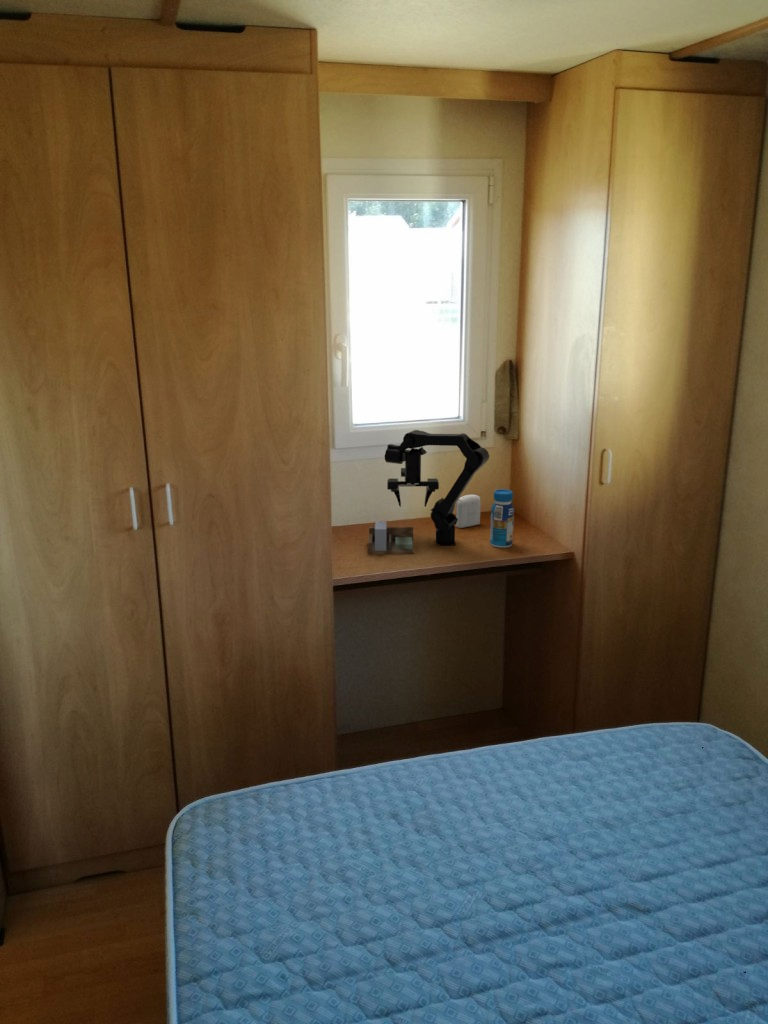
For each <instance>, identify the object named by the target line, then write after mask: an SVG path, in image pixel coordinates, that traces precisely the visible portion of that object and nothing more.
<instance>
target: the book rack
mask: <svg viewBox="0 0 768 1024" xmlns="http://www.w3.org/2000/svg"><path fill="white" fill-rule="evenodd" d="M368 529H369V530H368V555H414V554H415V548H414V547H415V546H414V526H387V543H386V551H375V526H369V527H368Z"/></svg>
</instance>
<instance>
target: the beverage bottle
mask: <svg viewBox="0 0 768 1024" xmlns="http://www.w3.org/2000/svg"><path fill="white" fill-rule="evenodd" d="M513 498H514V492H513V490H511V489H505V488H504V489H500V488H499V489H496V490H493V501H494V502H493V504H492V506H491V509H490V511H491V514H490V533H489V538H490V539H489V543H490V545H491V546H492V547H494V548H503V549H504V548H509V547H511V546H513V539H514V521H515V515H514V513H515V508H514V505H513V503H512V502H513Z"/></svg>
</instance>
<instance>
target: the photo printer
mask: <svg viewBox="0 0 768 1024" xmlns="http://www.w3.org/2000/svg"><path fill="white" fill-rule="evenodd" d="M481 501H482V500H481V497H480V496H479V495H478V494H477V495H476V494H466V495H463V496H461V497H459V498H458V500H457V501H456V504H455V506H456V509H455V516H456V518H457V519H458V521H457V523H456V524H455V527H457V528H458V529H462V528H467V527H473V526H477V525H480V523H481V507H482V506H481V505H482V503H481Z"/></svg>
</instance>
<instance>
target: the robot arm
mask: <svg viewBox="0 0 768 1024" xmlns="http://www.w3.org/2000/svg"><path fill="white" fill-rule="evenodd" d="M426 446H447V447H448V446H449V447H450V446H451V447H455V446H456V447H457V448H458V449H459V451H460V452H461V453H462V456H463V457H464V458H465V459H466V460H465V462H464V466H463V469H462V471H461V473H460V474H459V475H458V477H457V479H456V480H455V482H454V483H453V485H452V487H451V488H450V490H449V492H448V493H447V494H446V495H445V497H444V498H443V497H442V498H441V497H440V499H438V500H437V501H436V502H435V503H434V506H433V507H432V508H431V509H430V511H431V512H430V518H431V521H432V522H433V523H434V526H435V527H434V528H435V542H436V545H438V546H456V541H455V540H456V538H455V537H456V523H457V521H458V519H457V518H456V514H454V513H453V512H454V510H455V506H456V504H457V500H458V499H459V498H461V497H460V496H461V495H462V494H463V492H464V490H465V489H466V487H467V486H468V485H469V484H470V481H471V480H472V478H473V477H474V475H476V473H477V472H478V471H479V470H480V469H481V468H482V467H483V466H484V465H485V464H486V463H487V462H488V461H489V459H490V453H489V451H488V450H487V449H486V448H484V447H482V446H481V444H479V443H478V442H477V441H475V440H473V439H472V438H471V437H470V436H469V435H467V434H466V433H431V432H427V431H424V430H419V429H413V430H412V431H408V432H407V433H405V434H404V436H403V440H402V441H401V443H400V444H399V445H398V444H396V445H395V444H392V443H390V444H388V445H387V448H386V450H385V453H384V461H385V463H388V464H389V463H390V464H396V465H402V464H403V463H404V466H405V467H401V468H400V477H401V478H404V480H403V481H402V480H401V481H400V480H399V478H388V479H387V482H386V483H387V485H386V487H387V490H390V492H391V493H394V495H395V497H396V500H397V503H398V505H399V507H400V508H401V506H402V505H401V504H402V502H401V501H402V500H401V494H400V487H426V488H425V496H424V507H425V508H426V507H427V505H428V502H429V500H430V497H431V495H432V494H433V493H435V492H436V490H439V489H440V482H439V479H438V478H427V479H426V481H425V480H424V481H423V480H422V473H421V472H422V456H425V454H427V453H428V452H427V450H425V448H424V447H426Z"/></svg>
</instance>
